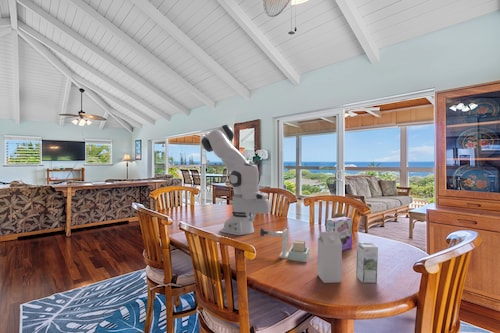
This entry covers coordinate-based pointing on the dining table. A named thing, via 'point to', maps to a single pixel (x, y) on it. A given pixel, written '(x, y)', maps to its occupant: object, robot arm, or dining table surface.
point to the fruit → (338, 215)
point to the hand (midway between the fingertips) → (251, 221)
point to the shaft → (270, 233)
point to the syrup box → (367, 262)
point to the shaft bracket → (292, 254)
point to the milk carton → (329, 257)
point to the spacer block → (299, 245)
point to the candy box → (341, 230)
